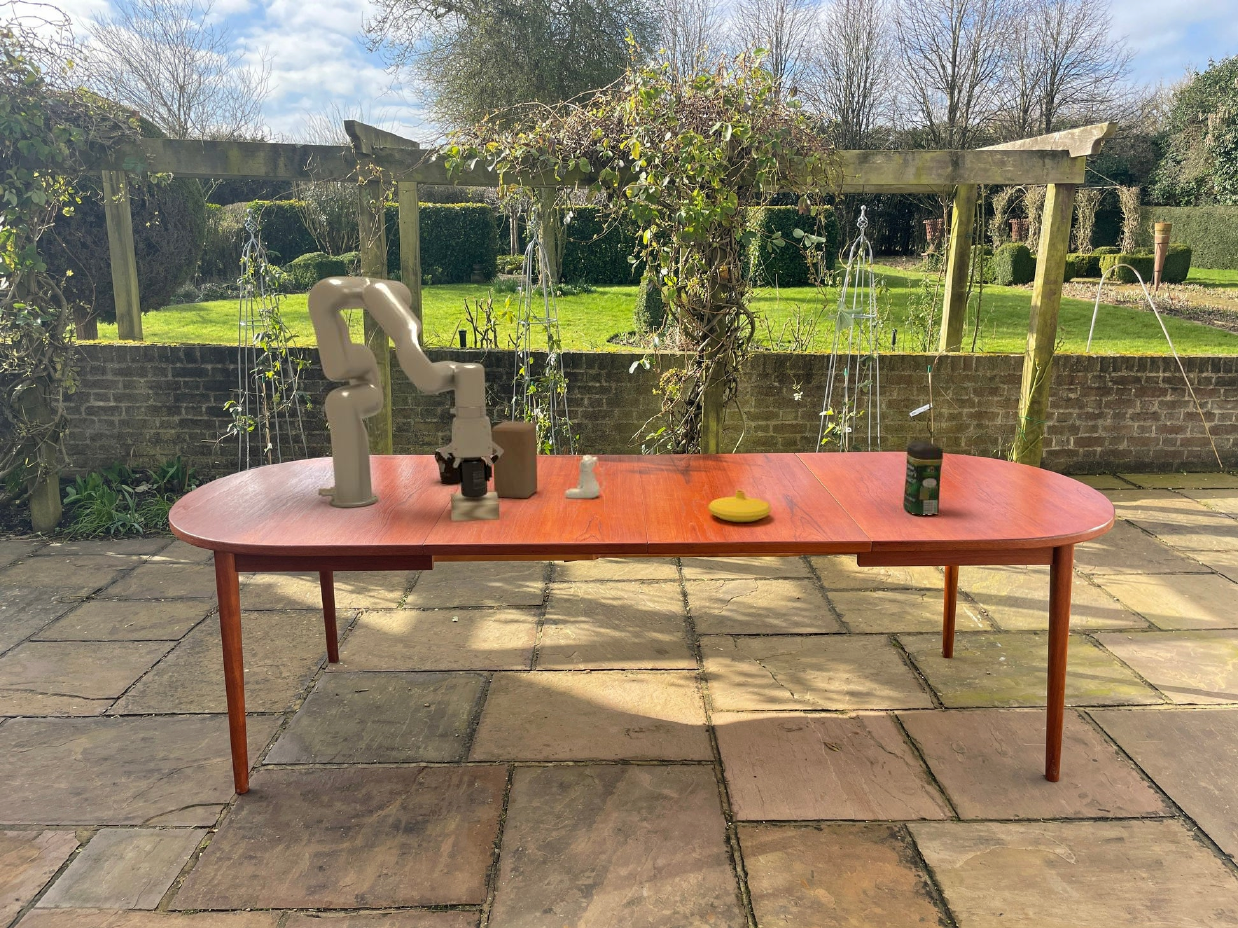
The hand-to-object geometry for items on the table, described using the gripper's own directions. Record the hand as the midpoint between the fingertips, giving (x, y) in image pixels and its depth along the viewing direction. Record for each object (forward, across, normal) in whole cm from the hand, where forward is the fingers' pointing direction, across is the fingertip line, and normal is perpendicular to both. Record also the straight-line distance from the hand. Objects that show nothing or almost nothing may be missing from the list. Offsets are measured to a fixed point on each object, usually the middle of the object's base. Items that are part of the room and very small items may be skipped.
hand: (473, 480), depth 221 cm
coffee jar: (+9, +114, -21) cm, 116 cm away
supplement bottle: (+4, 0, 0) cm, 4 cm away
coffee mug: (+9, -6, +37) cm, 39 cm away
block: (+9, +12, +18) cm, 23 cm away
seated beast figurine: (+9, +31, +12) cm, 34 cm away
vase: (+9, +66, -17) cm, 69 cm away
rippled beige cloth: (+9, 0, 0) cm, 9 cm away
